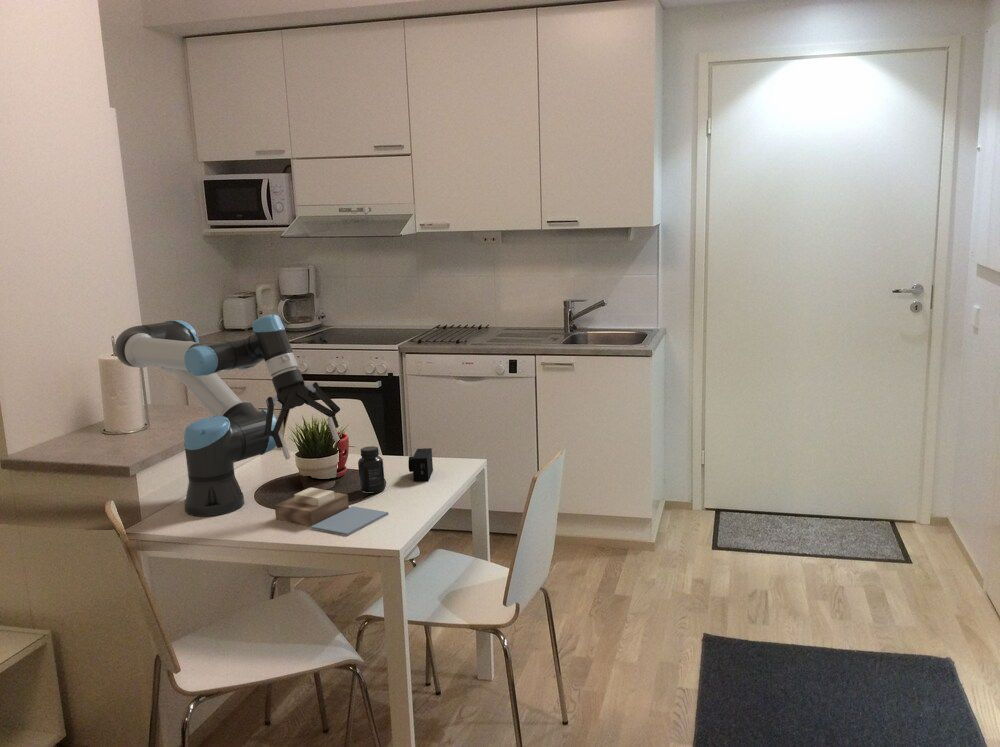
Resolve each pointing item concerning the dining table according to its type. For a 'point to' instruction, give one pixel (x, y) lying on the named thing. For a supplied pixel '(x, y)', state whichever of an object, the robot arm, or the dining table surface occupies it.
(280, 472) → the dining table surface
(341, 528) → the rubber mat
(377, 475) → the supplement bottle
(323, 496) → the birch tile
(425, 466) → the digital camera
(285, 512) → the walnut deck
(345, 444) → the plant pot
